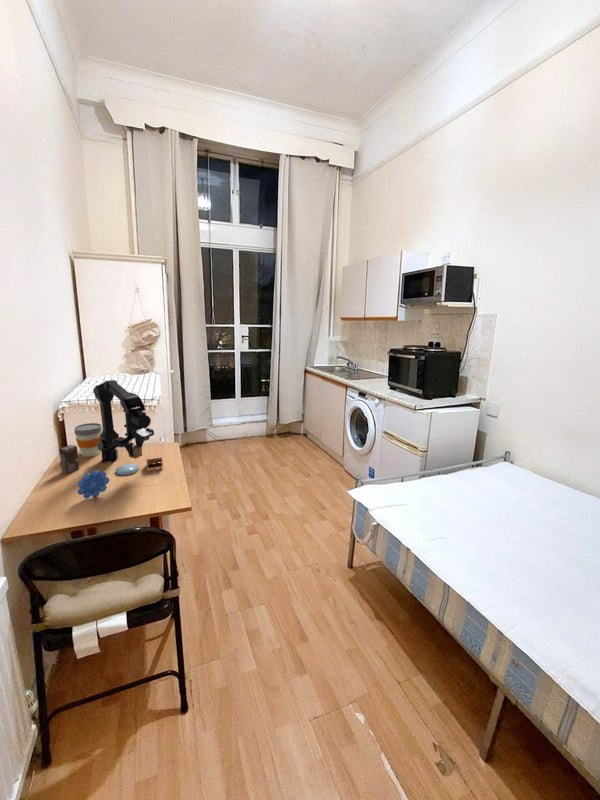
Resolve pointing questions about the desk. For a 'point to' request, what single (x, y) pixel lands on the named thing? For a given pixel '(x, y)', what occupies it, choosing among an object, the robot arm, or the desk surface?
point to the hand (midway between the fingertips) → (135, 454)
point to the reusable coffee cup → (88, 438)
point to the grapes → (93, 484)
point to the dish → (127, 469)
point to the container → (154, 459)
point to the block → (136, 451)
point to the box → (69, 458)
